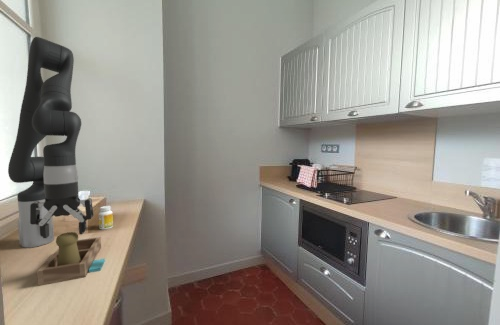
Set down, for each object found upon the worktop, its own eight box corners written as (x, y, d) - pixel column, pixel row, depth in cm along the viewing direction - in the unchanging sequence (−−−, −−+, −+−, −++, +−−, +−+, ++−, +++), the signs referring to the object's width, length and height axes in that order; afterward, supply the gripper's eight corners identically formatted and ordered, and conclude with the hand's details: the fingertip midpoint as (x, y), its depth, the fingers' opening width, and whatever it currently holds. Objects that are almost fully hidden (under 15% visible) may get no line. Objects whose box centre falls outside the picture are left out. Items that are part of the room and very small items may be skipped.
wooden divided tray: (65, 252, 80) (65, 241, 80) (111, 246, 85) (111, 235, 85) (38, 285, 61) (37, 271, 61) (98, 274, 67) (98, 261, 66)
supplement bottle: (96, 230, 101) (95, 208, 100) (103, 225, 107) (102, 205, 106) (109, 229, 102) (108, 208, 101) (115, 225, 107) (114, 205, 106)
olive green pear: (68, 276, 65) (65, 238, 64) (50, 273, 66) (47, 236, 65) (87, 264, 71) (84, 230, 70) (70, 263, 72) (68, 229, 71)
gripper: (22, 184, 60) (26, 244, 61) (86, 181, 65) (89, 237, 66) (36, 180, 67) (40, 233, 68) (94, 177, 72) (96, 227, 73)
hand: (64, 235), depth 67 cm, fingers open, 8 cm apart
